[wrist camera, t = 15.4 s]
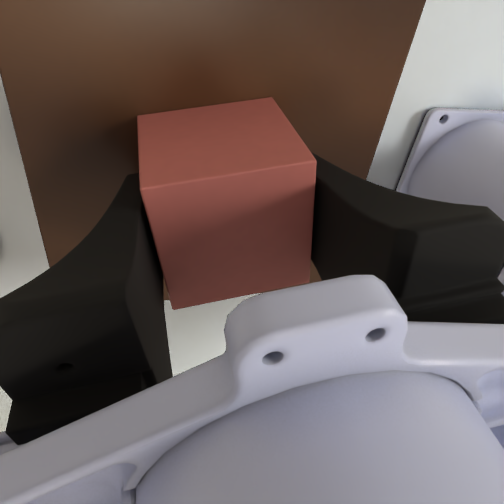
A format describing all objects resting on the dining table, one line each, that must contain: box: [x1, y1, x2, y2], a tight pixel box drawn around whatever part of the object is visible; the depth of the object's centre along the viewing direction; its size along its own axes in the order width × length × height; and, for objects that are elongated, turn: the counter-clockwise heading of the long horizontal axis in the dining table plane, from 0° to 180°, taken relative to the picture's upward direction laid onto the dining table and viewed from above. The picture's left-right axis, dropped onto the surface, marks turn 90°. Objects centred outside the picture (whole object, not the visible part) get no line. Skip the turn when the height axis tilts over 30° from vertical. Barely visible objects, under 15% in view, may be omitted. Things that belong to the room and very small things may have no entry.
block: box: [137, 97, 317, 310], centre depth 13 cm, size 4×4×4 cm
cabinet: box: [0, 0, 426, 300], centre depth 17 cm, size 13×12×7 cm
